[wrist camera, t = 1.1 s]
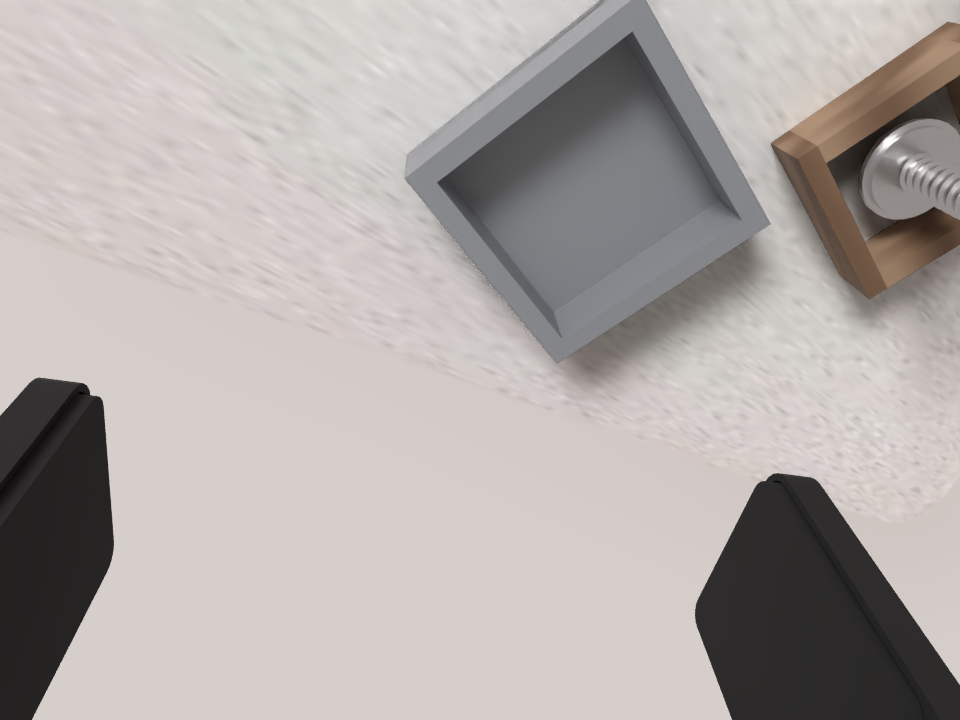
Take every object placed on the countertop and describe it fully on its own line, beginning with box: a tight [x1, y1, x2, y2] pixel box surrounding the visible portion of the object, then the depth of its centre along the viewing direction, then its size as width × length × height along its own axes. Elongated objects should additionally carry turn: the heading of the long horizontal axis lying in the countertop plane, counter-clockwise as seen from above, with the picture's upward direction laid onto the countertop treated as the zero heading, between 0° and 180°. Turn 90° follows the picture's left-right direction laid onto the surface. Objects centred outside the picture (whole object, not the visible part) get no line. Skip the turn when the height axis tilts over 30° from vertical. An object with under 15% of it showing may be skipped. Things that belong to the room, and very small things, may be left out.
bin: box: [404, 0, 771, 363], centre depth 34 cm, size 12×12×4 cm
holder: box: [771, 22, 960, 299], centre depth 35 cm, size 9×9×3 cm
